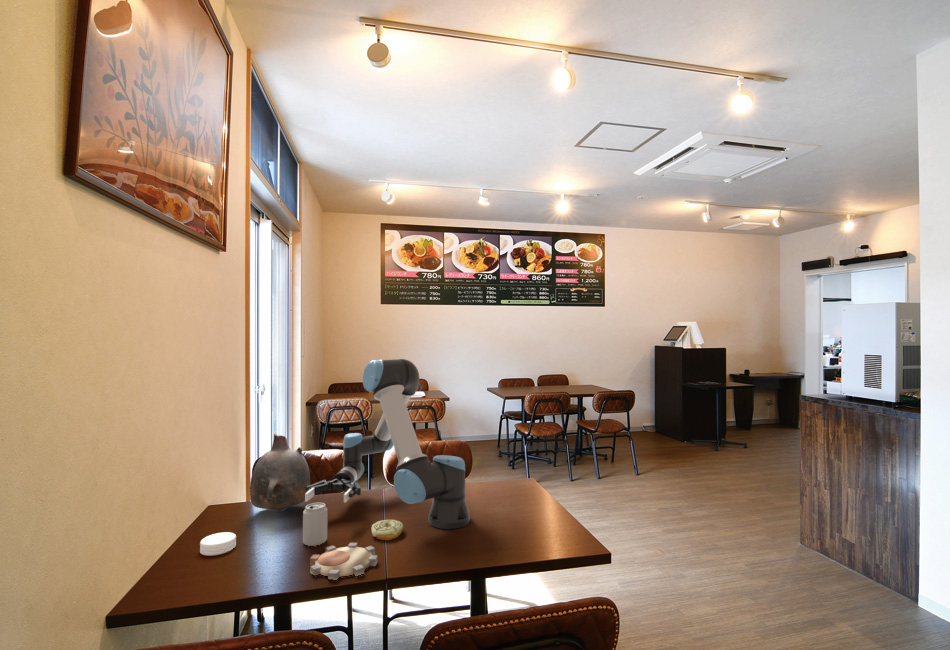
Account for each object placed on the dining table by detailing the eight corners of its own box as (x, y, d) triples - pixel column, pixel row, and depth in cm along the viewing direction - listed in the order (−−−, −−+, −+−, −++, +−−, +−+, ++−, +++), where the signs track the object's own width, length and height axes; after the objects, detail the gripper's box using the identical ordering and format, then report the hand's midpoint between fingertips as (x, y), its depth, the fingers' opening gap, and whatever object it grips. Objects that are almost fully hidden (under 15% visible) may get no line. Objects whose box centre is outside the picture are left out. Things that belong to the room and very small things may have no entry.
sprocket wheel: (384, 549, 143) (384, 542, 143) (367, 581, 123) (367, 573, 123) (323, 548, 143) (323, 542, 143) (297, 580, 124) (297, 572, 124)
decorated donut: (368, 542, 148) (368, 530, 148) (373, 529, 159) (373, 518, 159) (401, 541, 149) (401, 529, 149) (403, 528, 160) (403, 517, 160)
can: (306, 538, 151) (306, 501, 152) (329, 537, 152) (329, 500, 152) (299, 548, 144) (300, 509, 144) (324, 547, 144) (324, 508, 145)
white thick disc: (202, 545, 146) (202, 534, 146) (237, 540, 150) (237, 529, 150) (197, 559, 137) (197, 547, 137) (234, 553, 141) (234, 541, 141)
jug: (317, 515, 171) (318, 434, 173) (255, 528, 159) (256, 441, 161) (301, 497, 192) (302, 425, 193) (244, 508, 179) (246, 431, 181)
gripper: (376, 489, 179) (360, 509, 158) (313, 488, 180) (289, 508, 159) (376, 470, 179) (361, 488, 158) (313, 469, 180) (290, 486, 159)
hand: (325, 498), depth 158 cm, fingers open, 13 cm apart
